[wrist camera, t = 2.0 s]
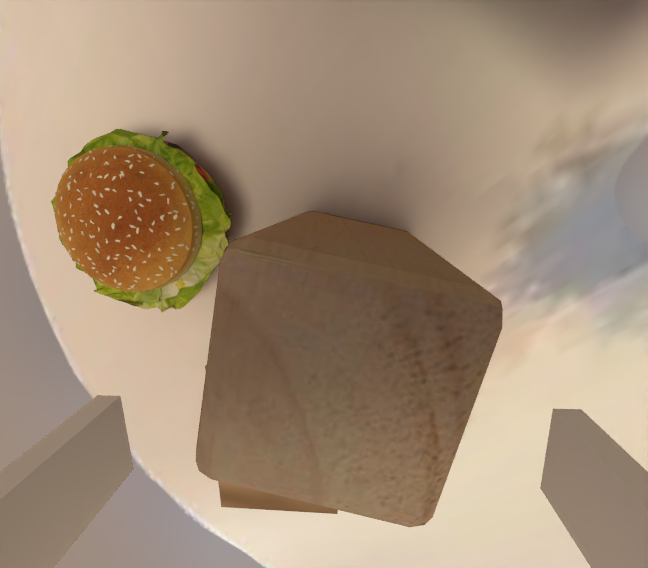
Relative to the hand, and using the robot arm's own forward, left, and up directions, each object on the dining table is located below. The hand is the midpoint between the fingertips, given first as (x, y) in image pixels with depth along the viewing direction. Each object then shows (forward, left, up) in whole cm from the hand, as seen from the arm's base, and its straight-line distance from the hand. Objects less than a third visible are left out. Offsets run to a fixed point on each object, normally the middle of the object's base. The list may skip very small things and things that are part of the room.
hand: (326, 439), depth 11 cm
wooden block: (0, 0, -22) cm, 22 cm away
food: (-5, -16, -22) cm, 28 cm away
